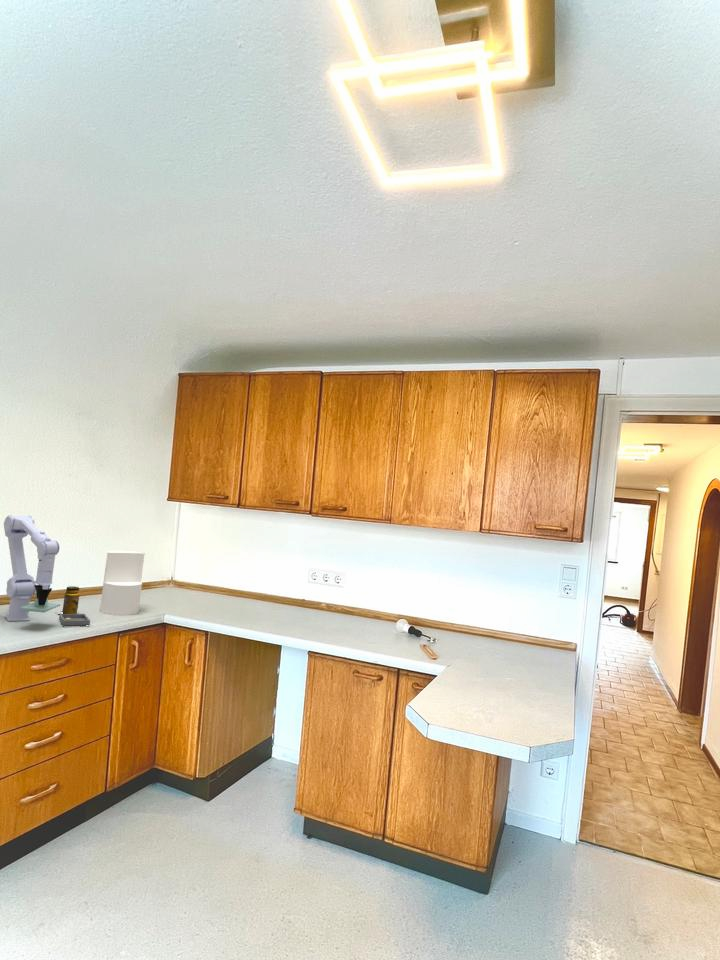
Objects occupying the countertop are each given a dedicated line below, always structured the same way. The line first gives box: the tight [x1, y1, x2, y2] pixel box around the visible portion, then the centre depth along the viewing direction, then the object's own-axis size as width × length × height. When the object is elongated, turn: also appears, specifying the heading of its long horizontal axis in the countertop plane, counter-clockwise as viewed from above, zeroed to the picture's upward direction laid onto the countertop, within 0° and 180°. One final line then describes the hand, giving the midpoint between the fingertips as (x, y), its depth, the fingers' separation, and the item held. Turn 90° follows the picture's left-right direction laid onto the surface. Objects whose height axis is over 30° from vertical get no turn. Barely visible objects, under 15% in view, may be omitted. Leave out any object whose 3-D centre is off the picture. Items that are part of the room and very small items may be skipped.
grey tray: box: [58, 613, 91, 627], centre depth 239 cm, size 12×10×2 cm
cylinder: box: [99, 549, 145, 616], centre depth 270 cm, size 17×17×28 cm
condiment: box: [61, 585, 80, 614], centre depth 254 cm, size 7×8×12 cm
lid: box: [20, 597, 61, 613], centre depth 228 cm, size 12×10×4 cm
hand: (40, 603), depth 228 cm, fingers closed on lid, 4 cm apart
